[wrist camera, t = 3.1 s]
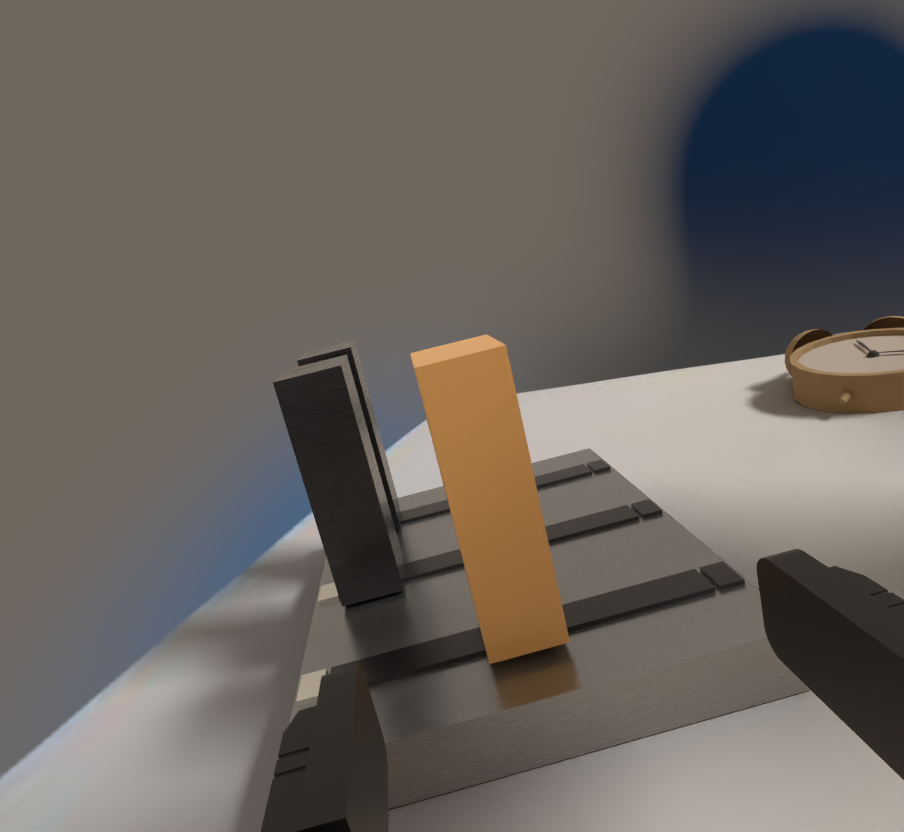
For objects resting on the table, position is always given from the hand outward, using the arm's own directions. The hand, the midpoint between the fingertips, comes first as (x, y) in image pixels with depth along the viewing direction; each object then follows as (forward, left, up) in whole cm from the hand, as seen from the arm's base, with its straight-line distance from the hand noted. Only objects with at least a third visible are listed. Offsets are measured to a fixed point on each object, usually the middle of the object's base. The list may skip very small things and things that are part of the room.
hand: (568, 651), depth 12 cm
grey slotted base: (-9, -16, -9) cm, 21 cm away
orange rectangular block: (-6, -10, -6) cm, 13 cm away
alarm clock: (-47, -14, -10) cm, 50 cm away
